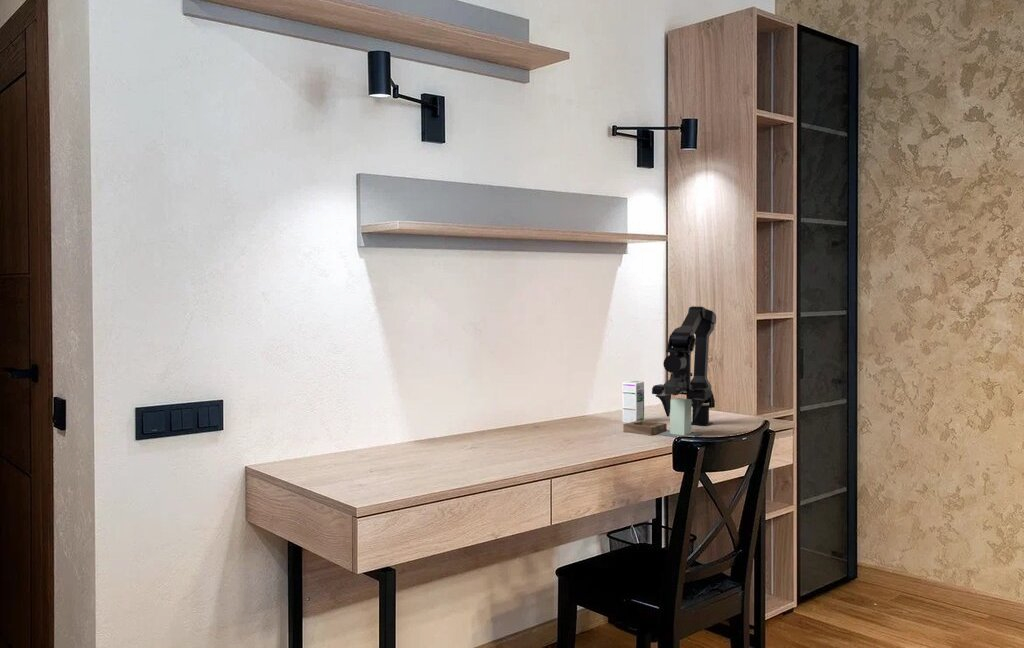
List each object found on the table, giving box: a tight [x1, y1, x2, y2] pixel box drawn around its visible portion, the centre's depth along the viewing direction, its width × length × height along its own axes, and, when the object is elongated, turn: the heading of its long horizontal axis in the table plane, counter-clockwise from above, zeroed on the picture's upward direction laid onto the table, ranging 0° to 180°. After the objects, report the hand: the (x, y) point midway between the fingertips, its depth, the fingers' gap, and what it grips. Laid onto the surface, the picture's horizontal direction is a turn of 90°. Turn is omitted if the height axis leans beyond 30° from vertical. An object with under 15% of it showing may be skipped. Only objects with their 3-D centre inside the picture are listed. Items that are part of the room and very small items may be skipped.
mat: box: [659, 430, 702, 438], centre depth 276 cm, size 10×10×1 cm
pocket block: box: [622, 420, 668, 436], centre depth 282 cm, size 10×10×2 cm
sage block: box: [669, 397, 692, 435], centre depth 276 cm, size 5×5×11 cm
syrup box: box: [621, 380, 645, 424], centre depth 299 cm, size 6×6×14 cm
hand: (680, 417), depth 276 cm, fingers open, 9 cm apart
